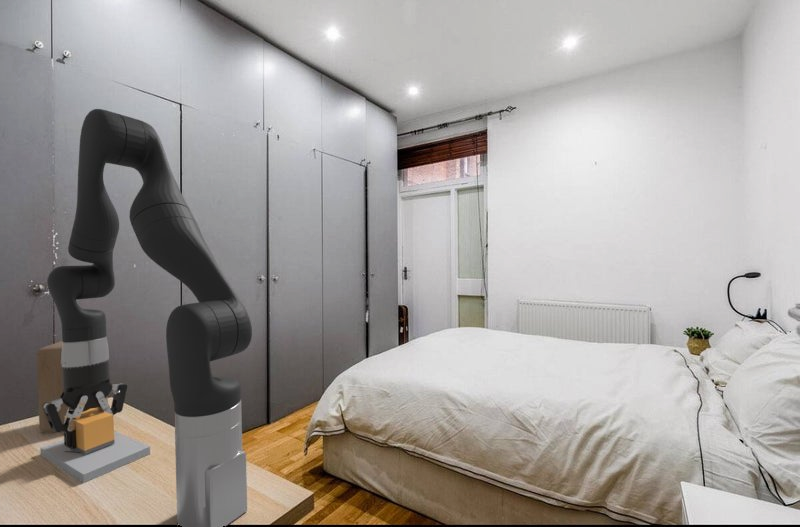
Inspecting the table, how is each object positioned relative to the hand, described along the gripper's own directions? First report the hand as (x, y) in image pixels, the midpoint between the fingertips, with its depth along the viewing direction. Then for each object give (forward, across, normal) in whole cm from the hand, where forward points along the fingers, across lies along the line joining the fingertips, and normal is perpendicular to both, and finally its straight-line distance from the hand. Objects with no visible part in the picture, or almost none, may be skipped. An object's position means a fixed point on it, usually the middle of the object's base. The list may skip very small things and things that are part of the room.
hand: (89, 441), depth 77 cm
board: (+2, 0, -2) cm, 3 cm away
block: (+2, +4, +20) cm, 20 cm away
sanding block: (0, 0, 0) cm, 1 cm away
